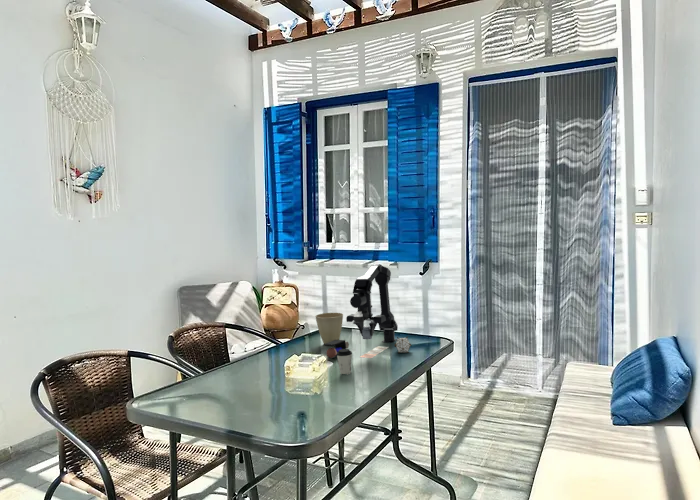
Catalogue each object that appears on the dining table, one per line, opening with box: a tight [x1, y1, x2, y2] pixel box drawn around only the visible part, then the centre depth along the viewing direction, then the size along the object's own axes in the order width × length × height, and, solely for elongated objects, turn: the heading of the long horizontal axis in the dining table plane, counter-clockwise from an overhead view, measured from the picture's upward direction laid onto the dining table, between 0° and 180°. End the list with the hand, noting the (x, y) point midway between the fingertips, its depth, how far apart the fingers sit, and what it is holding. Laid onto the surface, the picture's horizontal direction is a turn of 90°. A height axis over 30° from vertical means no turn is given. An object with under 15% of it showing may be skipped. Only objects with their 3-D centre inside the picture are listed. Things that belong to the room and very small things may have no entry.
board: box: [359, 345, 389, 359], centre depth 246 cm, size 22×9×1 cm, turn 151°
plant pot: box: [315, 312, 344, 344], centre depth 270 cm, size 15×15×16 cm
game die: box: [394, 336, 412, 354], centre depth 242 cm, size 9×8×10 cm
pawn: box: [361, 325, 373, 340], centre depth 240 cm, size 4×4×6 cm
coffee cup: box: [336, 348, 353, 375], centre depth 216 cm, size 7×7×10 cm
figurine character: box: [322, 339, 350, 359], centre depth 247 cm, size 7×8×15 cm
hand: (367, 336), depth 240 cm, fingers closed on pawn, 4 cm apart
